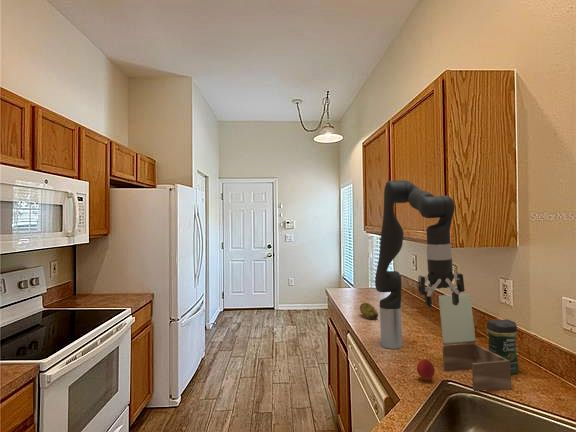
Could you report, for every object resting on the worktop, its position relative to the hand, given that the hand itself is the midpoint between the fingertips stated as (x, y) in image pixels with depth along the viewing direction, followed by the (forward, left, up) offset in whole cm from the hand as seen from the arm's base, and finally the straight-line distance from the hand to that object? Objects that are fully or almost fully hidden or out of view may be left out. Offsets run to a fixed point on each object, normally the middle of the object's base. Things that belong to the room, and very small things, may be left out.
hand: (442, 305), depth 119 cm
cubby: (-6, +15, -28) cm, 32 cm away
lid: (-15, +15, -9) cm, 23 cm away
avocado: (-91, +8, -28) cm, 96 cm away
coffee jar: (-10, +29, -28) cm, 42 cm away
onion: (-8, -2, -28) cm, 29 cm away
